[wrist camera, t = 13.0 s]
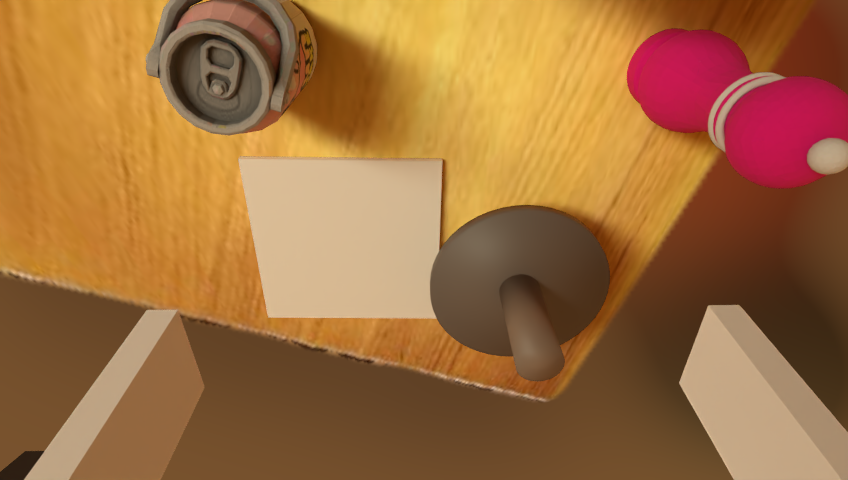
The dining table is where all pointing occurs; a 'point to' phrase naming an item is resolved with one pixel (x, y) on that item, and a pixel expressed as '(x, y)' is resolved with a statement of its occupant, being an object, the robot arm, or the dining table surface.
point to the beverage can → (232, 61)
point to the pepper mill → (742, 107)
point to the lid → (520, 285)
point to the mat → (344, 234)
